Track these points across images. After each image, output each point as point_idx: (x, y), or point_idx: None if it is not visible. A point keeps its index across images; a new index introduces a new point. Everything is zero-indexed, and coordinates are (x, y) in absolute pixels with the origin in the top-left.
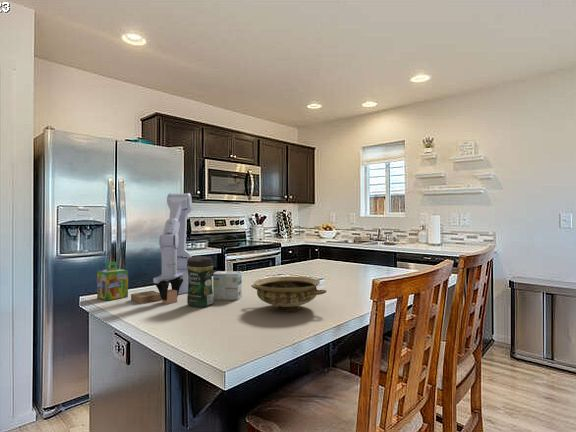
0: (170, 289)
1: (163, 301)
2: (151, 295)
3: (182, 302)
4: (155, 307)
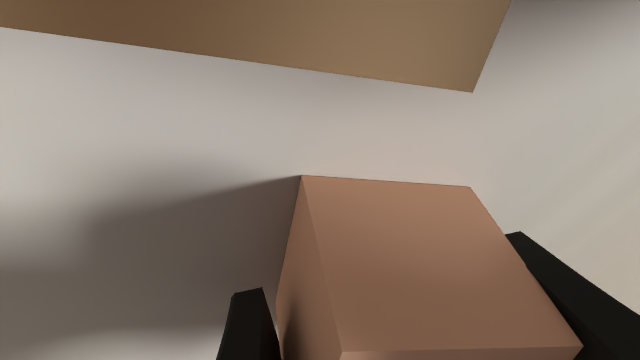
0: (547, 348)
1: (296, 226)
2: (161, 37)
3: None
4: (56, 348)
